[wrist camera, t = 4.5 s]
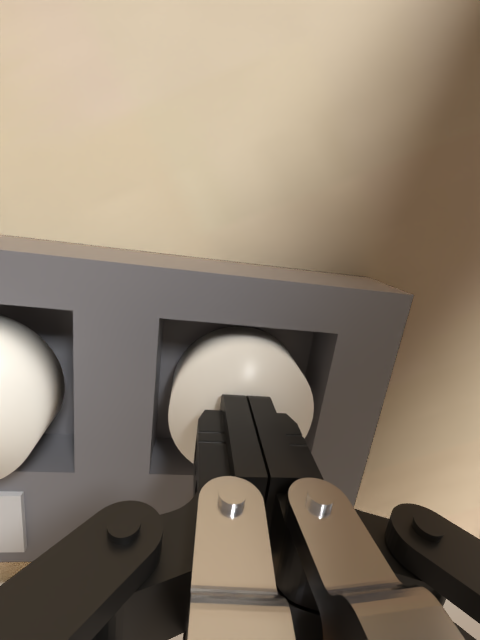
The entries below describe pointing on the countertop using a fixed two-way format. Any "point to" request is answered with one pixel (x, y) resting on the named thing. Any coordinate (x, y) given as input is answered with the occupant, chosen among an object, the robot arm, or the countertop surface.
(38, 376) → the button middle
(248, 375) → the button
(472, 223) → the countertop surface
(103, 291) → the panel
